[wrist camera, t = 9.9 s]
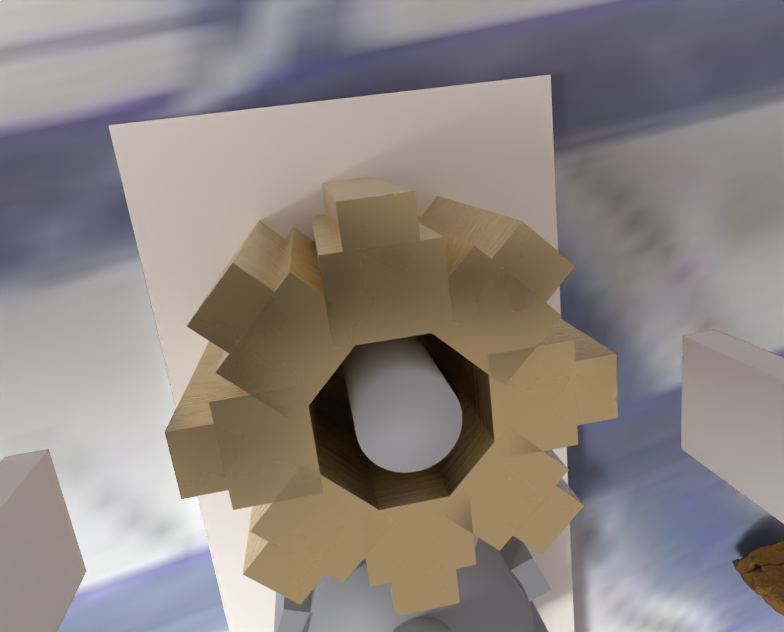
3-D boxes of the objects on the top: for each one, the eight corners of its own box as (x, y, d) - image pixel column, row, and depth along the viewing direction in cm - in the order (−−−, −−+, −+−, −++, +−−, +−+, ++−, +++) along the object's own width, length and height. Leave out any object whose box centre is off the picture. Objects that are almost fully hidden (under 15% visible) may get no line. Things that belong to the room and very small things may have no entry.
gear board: (263, 741, 26) (245, 1035, 18) (119, 127, 19) (-33, 103, 10) (565, 671, 28) (688, 909, 19) (536, 79, 21) (711, 22, 12)
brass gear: (248, 478, 22) (220, 654, 14) (189, 200, 19) (114, 231, 11) (512, 429, 23) (620, 568, 15) (493, 160, 20) (613, 164, 12)
